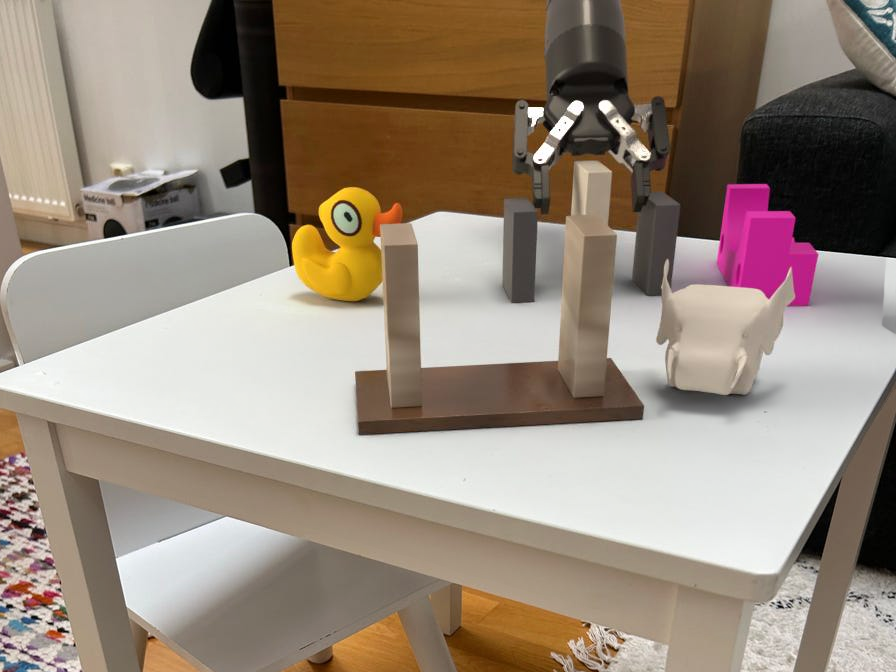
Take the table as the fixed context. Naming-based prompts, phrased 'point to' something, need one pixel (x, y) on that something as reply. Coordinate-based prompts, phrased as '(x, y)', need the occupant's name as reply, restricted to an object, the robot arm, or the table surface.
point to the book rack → (510, 384)
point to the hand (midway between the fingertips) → (592, 208)
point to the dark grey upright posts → (649, 255)
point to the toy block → (762, 245)
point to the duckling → (344, 246)
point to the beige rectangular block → (591, 189)
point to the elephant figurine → (719, 334)
